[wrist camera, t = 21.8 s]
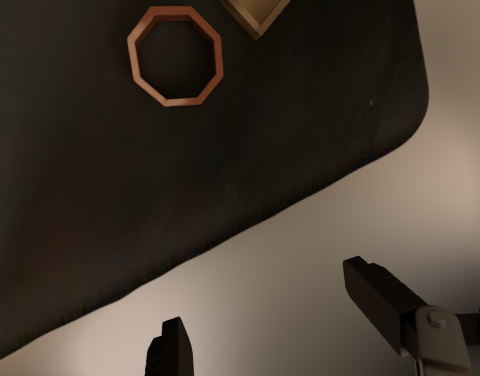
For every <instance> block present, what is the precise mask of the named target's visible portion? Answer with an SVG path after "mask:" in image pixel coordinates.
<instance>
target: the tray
mask: <svg viewBox="0 0 480 376" xmlns="http://www.w3.org/2000/svg"><path fill="white" fill-rule="evenodd" d="M218 1H219V2H220V3H221V4H222V5H223V6H224V7H225V8H226V9H227V11H228V12H229V13H230V14H231V15H232V16H233V17H234V18H235V19H236V20H237V21H238V22H239V24H240V25H241V26H242V27H243V28H244V29H245V30H246V31H247V32H248V33H249V34H250V36H251V37H252V38H253V39H254V40H256V39H258V38H259V37H261V36H262V34H263V33H264V32H265V31H266V30H267V28H268V27H269V26H270V25H271V23H272V22H273V21H274V20H275V19H276V17H277V16H278V15H279V14H280V12H281V11H282V10H283V9H284V8H285V6H286V5H287V4H288V3H289V1H290V0H218Z"/></svg>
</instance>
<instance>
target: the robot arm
mask: <svg viewBox="0 0 480 376" xmlns="http://www.w3.org/2000/svg"><path fill="white" fill-rule="evenodd" d="M343 271H344V279H345V287H346V290H347V292H348V294H349V296H350V298H351V299H352V300H353V302H354V303H355V304H356V305H357V306H358V308H359V309H360V310H361V311H362V312H363V313H364V315H365V316H366V317H367V318H368V319H369V320H370V322H371V323H372V324H373V325H374V326H375V328H376V329H377V330H378V331H379V332H380V334H382V336H383V337H384V338H385V339H386V341H388V343H389V344H390V345H391V347H392V348H393V349H394V350H395V351H396V352H397V354H398V355H399V356H400V357H401V358H402V357H404V356H407V355H409V354H410V355H411V356H412V357H413V358H414V359H415V368H416V376H480V308H479V313H471V314H453V313H452V312H450V311H449V310H447V309H445V308H442V307H439V306H434V305H428V304H427V303H426V302H425V301H423V300H422V299H421V298H420V297H419V296H418V295H416V294H415V293H414V292H413V291H412V290H411V289H409V288H408V287H407V286H406V285H405V284H403V283H402V282H400V280H399V279H397V278H396V277H395V276H393V274H391V273H390V272H389V271H388V270H387V269H386V268H384V267H382V266H379V265H377V264H375V263H371V264H368V263H367V262H366V261H365V260H363V259H362V258H361V257H360V256H356V257H353V258H350V259H347V260H344V261H343ZM193 367H194V366H193V352H192V347H191V343H190V340H189V337H188V335H187V332H186V330H185V327H184V325H183V322H182V320H181V318H180V317H176V318H173V319H170V320H167V321H165V322H163V324H162V336H159V337H156V338H154V339H153V340H152V342H151V344H150V346H149V348H148V351H147V359H146V367H145V376H194V368H193Z"/></svg>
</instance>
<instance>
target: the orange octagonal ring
mask: <svg viewBox="0 0 480 376" xmlns="http://www.w3.org/2000/svg"><path fill="white" fill-rule="evenodd" d="M157 21H188V22H189V23H190V24H191V25H192V26H193V27H194V28H195V29H196V30H197V31H198V32H199V33H200V34H201V35H202V36H203V37H204V38H205V39H206V40H207V41H208V42H209V43H210V44H211V50H212V62H213V76H212V78H211V79H210V80H209V81H208V83H207V84H206V85H205V86H204V88H203V89H202V90H201V91H200V93H199V94H198V95H197V96H196V97H191V98H174V99H167V98H166V97H165V96H163V95H162V94H161V93H160V92H159V91H157V90H156V89H155V88H154V87H153V86H152V85H150V84H149V83H148V82H147V81H146V80H144V79H143V73H142V67H141V61H140V54H139V48H138V46H139V44H140V43H141V42H142V40H143V39H144V38H145V37H146V35H147V34H148V33H149V31H150V30H151V29H152V27H153V26H154V25H155V23H156V22H157ZM127 45H128V51H129V56H130V62H131V68H132V74H133V80H134V82H136V83H137V84H138V85H139V86H140V87H142V88H143V89H144V90H145V91H146V92H148V93H149V94H150V95H151V96H152V97H154V98H155V99H156V100H157V101H158V102H160V103H161V104H162V105H163V106H165V107H167V106H183V105H198V104H201V103H202V102H203V101H204V100H205V98H206V97H207V96H208V95H209V93H210V92H211V91H212V90H213V89H214V87H215V86H216V85H217V84H218V82H219V81H220V80H221V79H222V77H223V64H222V49H221V37H220V35H219V34H218V33H217V32H216V31H215V30H214V29H213V28H212V27H211V26H210V25H209V24H208V23H207V22H206V21H205V20H204V19H203V18H202V17H201V16H200V15H199V14H198V13H197V12H196V11H195V10H194V9H193V8H192V7H191V6H151V7H150V8H149V9H148V11H147V12H146V13H145V15H144V16H143V17H142V19H141V20H140V21H139V23H138V24H137V25H136V27H135V28H134V29H133V31H132V32H131V33H130V35H129V36H128V37H127Z"/></svg>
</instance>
